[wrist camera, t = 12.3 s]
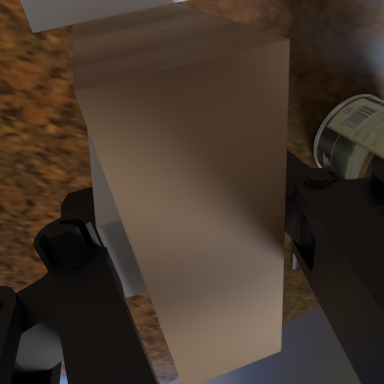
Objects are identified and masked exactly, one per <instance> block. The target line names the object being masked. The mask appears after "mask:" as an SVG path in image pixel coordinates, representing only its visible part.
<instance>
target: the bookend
mask: <svg viewBox="0 0 384 384" xmlns="http://www.w3.org/2000/svg"><path fill="white" fill-rule="evenodd" d="M20 1H21V4H22V6H23V9H24V11H25V14H26V16H27V19H28V21H29V24H30V26H31V29H32V31H33V33H34V32H39V31H44V30H48V29H53V28H58V27H63V26H67V25H72V28H73V67H74V93H75V96H76V98H77V101H78V104H79V106H80V109H81V112H82V115H83V117H84V120H85V123H86V125H87V128H88V131H89V133H90V136H91V139H92V142H93V144H94V147H95V150H96V152H97V155H98V158H99V161H100V163H101V166H102V169H103V171H104V174H105V177H106V179H107V182H108V185H109V188H110V190H111V193H112V196H113V198H114V201H115V204H116V207H117V209H118V212H119V215H120V217H121V220H122V223H123V225H124V228H125V231H126V234H127V236H128V239H129V242H130V244H131V247H132V250H133V253H134V255H135V258H136V261H137V263H138V266H139V269H140V271H141V274H142V277H143V280H144V282H145V285H146V288H147V290H148V293H149V296H150V299H151V301H152V304H153V307H154V309H155V312H156V315H157V318H158V320H159V323H160V326H161V328H162V331H163V334H164V336H165V339H166V342H167V345H168V347H169V350H170V353H171V355H172V358H173V361H174V364H175V366H176V369H177V372H178V374H179V377H180V380H181V382H182V384H200V383H202V382H205V381H207V380H210V379H212V378H214V377H217V376H220V375H222V374H225V373H227V372H230V371H232V370H235V369H237V368H240V367H242V366H245V365H247V364H250V363H252V362H255V361H257V360H259V359H262V358H265V357H267V356H269V355H272V354H274V353H277V352H279V351H281V334H282V332H281V331H282V300H283V265H284V230H285V195H286V161H287V126H288V91H289V56H290V39H286V38H283V37H280V36H277V35H274V34H271V33H268V32H265V31H262V30H258V29H255V28H252V27H249V26H246V25H243V24H240V23H237V22H234V21H230V20H227V19H224V18H221V17H218V16H215V15H212V14H209V13H205V12H202V11H199V10H196V9H193V8H190V7H187V6H184V5H181V4H177V3H176V2H181V1H186V0H20Z"/></svg>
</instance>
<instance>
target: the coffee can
mask: <svg viewBox="0 0 384 384" xmlns="http://www.w3.org/2000/svg"><path fill="white" fill-rule="evenodd" d="M313 154H314V158H315V161H316V163H317V165H318V166H319V167H320V168H327V169H330V170H333V171H336V172H337V173H339V174H340V175H342V176H343V177H344V178H345V179H357V178H367V177H371V173H372V169H373V167H374V165H375V164H377V163H379V162H380V161H384V100H382V99H379V98H378V97H376V96H373V95H369V94H361V95H356V96H353V97H350V98H348V99H346V100H345V101H343V102H342V103H340V104H339V105H337V106H336V107H335V108H334V109H333V110H332V111H331V112H330V113H329V114H328V115H327V117H326V118H325V119H324V121H323V122H322V123H321V126H320V128H319V129H318V131H317V134H316V137H315V140H314V147H313Z"/></svg>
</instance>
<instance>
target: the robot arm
mask: <svg viewBox="0 0 384 384" xmlns="http://www.w3.org/2000/svg"><path fill="white" fill-rule="evenodd" d="M88 140H89V151H90V163H91V174H92V186H93V187H89V188H86V189H82V190H79V191H75V192H72V193H69V194H68V195H67V196H66V198H65V199H64V201H63V202H62V206H61V218H59V219H57V220H55V221H53V222H51V223H49V224H48V225H46V226H45V227H44V228H43V229H41V230H40V231H39V233H38V234H37V236H36V237H35V238H34V244H33V246H34V248H35V250H36V251H37V253H38V255H39V256H40V258H41V260H42V261H43V263H44V265H45V266H46V268H47V269H48V273H47V274H46V275H45V276H43V277H42V278H41V279H39V280H38V281H36V282H35V283H33V284H31V285H30V286H28V287H26V288H24V289H23V290H21V291H19V292H17V293H15V292H14V290H13V289H12V288H11V287H7V286H0V384H59V383H60V373H61V361H63V360H64V363H65V369H66V374H67V380H68V384H159V381H158V379H157V376H156V374H155V371H154V369H153V367H152V364H151V362H150V359H149V357H148V355H147V352H146V350H145V347H144V345H143V343H142V340H141V338H140V335H139V333H138V330H137V328H136V326H135V323H134V321H133V318H132V316H131V314H130V311H129V309H128V306H127V304H126V302H125V300H124V293H125V296H126V298H128V297H131V296H133V295H136V294H139V293H142V292H145V291H148V290H147V288H146V285H145V282H144V280H143V277H142V274H141V271H140V269H139V266H138V263H137V261H136V258H135V255H134V253H133V250H132V247H131V244H130V242H129V239H128V236H127V234H126V231H125V228H124V225H123V223H122V220H121V217H120V215H119V212H118V209H117V207H116V204H115V201H114V198H113V196H112V193H111V190H110V188H109V185H108V182H107V179H106V177H105V174H104V171H103V169H102V166H101V163H100V161H99V158H98V155H97V152H96V150H95V147H94V144H93V142H92V139H91V136H90V133H89V131H88ZM285 231H286V232H287V233H288V234H289V236H290V237H291V238H292V251H291V265H292V270H294V269H296V260H297V261H298V263H299V265H300V267H301V269H302V271H303V273H304V275H305V276H306V278H307V280H308V282H309V284H310V286H311V288H312V290H313V292H314V294H315V296H316V298H317V300H318V301H319V303H320V305H321V307H322V309H323V311H324V313H325V315H326V317H327V319H328V321H329V322H330V325H331V326H332V328H333V330H334V332H335V334H336V336H337V338H338V340H339V342H340V344H341V346H342V348H343V349H344V351H345V353H346V355H347V357H348V359H349V361H350V363H351V365H352V367H353V369H354V371H355V373H356V374H357V376H358V378H359V380H360V382H361V384H384V161H380V162H379V163H377V164H375V165H374V167H373V169H372V173H371V177H367V178H357V179H345V178H344V177H343V176H342V175H340V174H339V173H337V172H336V171H333V170H330V169H327V168H310V167H309V166H308V165H306V164H305V163H304V162H302V161H301V160H300V159H299V158H297V157H296V156H295V155H294V154H292V153H290V151H288V150H287V161H286V195H285ZM123 291H124V293H123Z"/></svg>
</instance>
